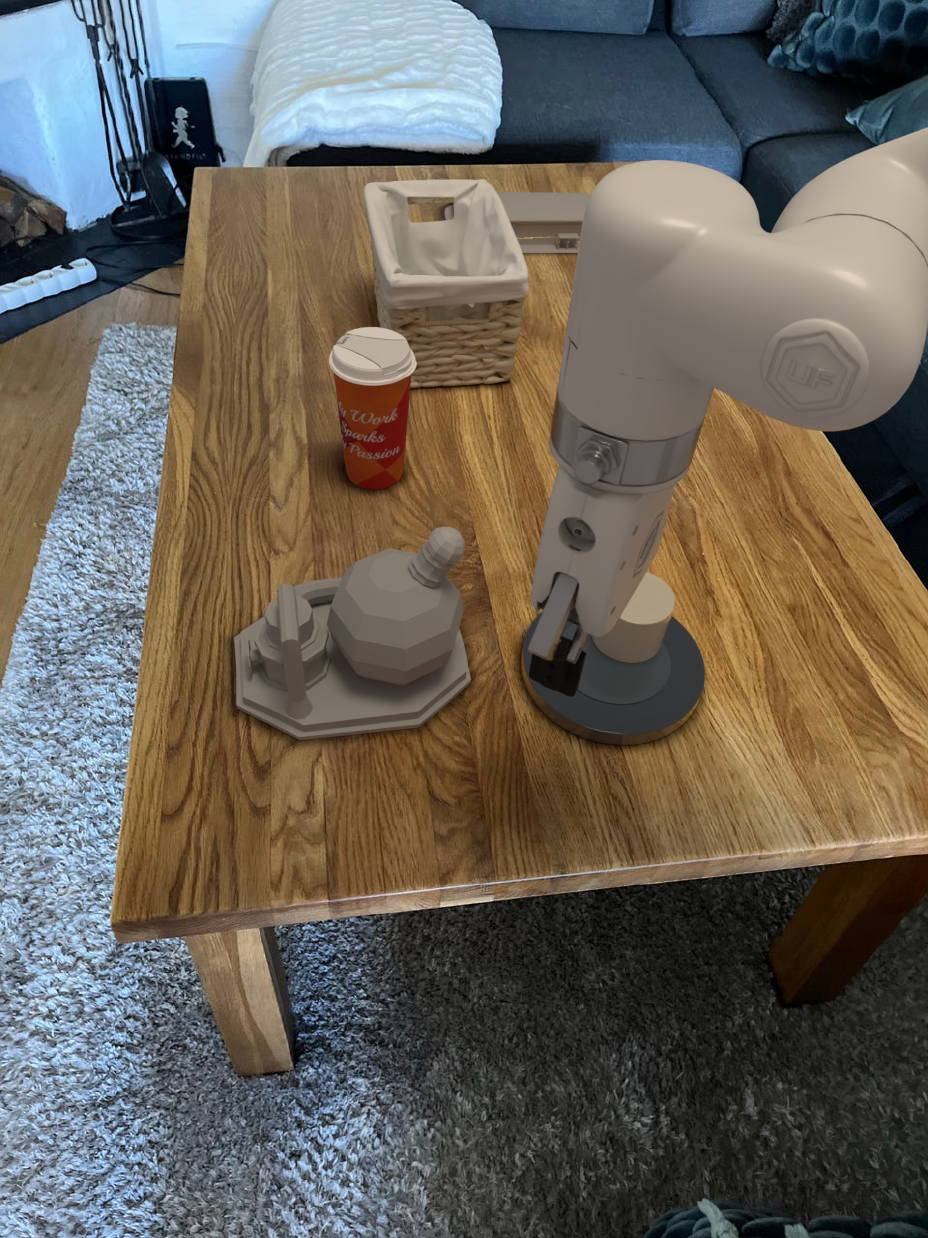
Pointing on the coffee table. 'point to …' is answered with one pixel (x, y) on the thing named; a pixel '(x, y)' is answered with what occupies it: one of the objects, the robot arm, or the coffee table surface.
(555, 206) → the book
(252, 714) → the grey faceted model
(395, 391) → the coffee cup
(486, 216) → the basket
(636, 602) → the short beige cylinder
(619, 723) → the plate
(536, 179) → the coffee table surface
